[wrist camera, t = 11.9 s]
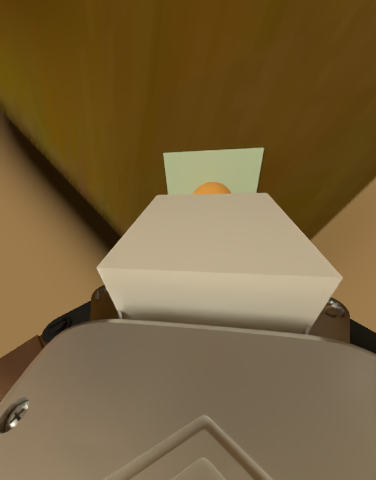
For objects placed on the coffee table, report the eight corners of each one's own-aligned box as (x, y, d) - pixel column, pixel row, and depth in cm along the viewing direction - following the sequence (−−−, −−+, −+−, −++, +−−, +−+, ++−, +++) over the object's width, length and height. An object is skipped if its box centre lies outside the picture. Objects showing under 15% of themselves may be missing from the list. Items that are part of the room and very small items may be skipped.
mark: (263, 147, 18) (264, 148, 17) (248, 235, 24) (248, 235, 24) (163, 152, 19) (163, 153, 19) (173, 233, 25) (173, 234, 25)
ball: (231, 232, 21) (230, 196, 22) (237, 215, 16) (236, 170, 17) (191, 231, 21) (193, 197, 23) (185, 215, 17) (188, 173, 18)
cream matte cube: (266, 192, 11) (342, 277, 5) (250, 274, 15) (278, 378, 9) (157, 195, 12) (96, 267, 6) (169, 271, 16) (142, 362, 10)
